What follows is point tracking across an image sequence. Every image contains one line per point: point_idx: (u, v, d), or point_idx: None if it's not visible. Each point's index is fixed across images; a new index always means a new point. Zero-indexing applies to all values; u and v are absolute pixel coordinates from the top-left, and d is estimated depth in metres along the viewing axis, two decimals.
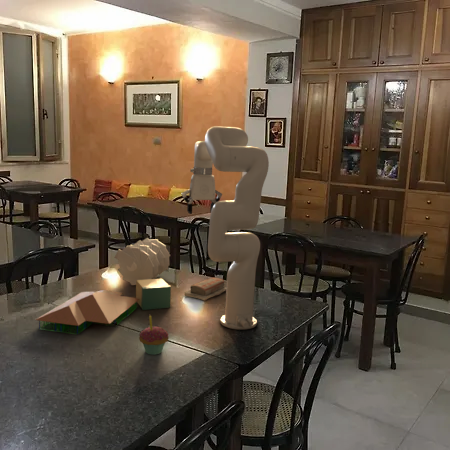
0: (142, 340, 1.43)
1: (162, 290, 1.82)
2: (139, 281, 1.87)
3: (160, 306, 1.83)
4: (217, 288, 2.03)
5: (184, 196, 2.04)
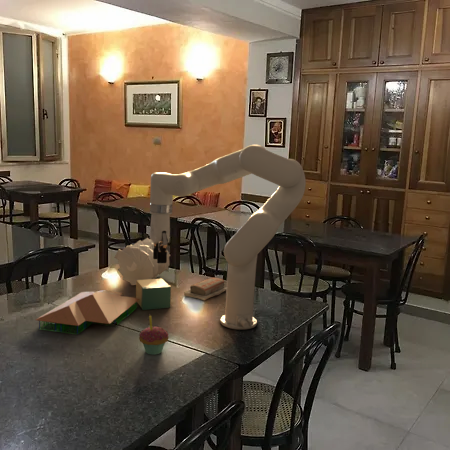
0: (142, 340, 1.43)
1: (162, 290, 1.82)
2: (139, 281, 1.87)
3: (160, 306, 1.83)
4: (217, 288, 2.03)
5: None
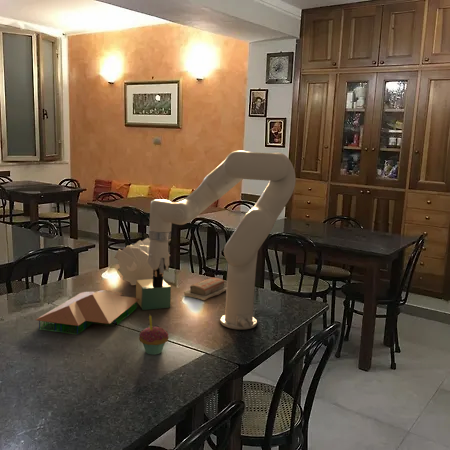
0: (142, 340, 1.43)
1: (162, 290, 1.82)
2: (139, 281, 1.87)
3: (160, 306, 1.83)
4: (217, 288, 2.03)
5: None
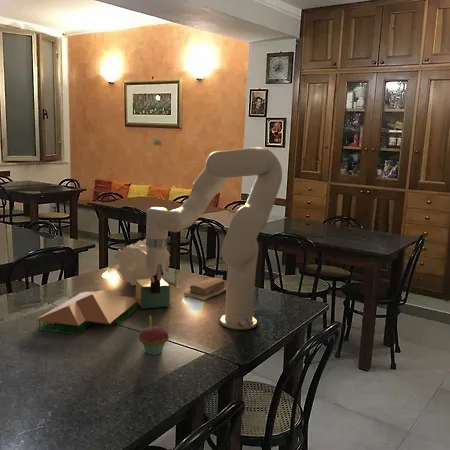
0: (142, 340, 1.43)
1: (161, 288, 1.82)
2: (139, 280, 1.88)
3: (159, 305, 1.83)
4: (217, 288, 2.03)
5: None
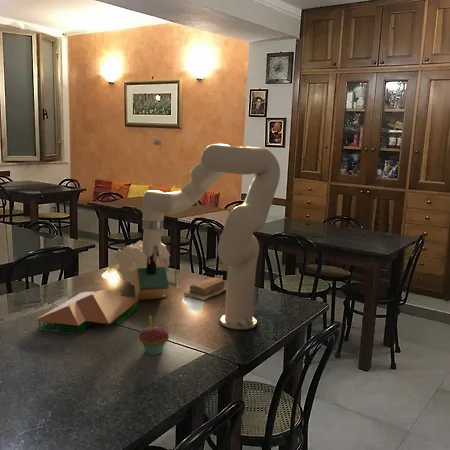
0: (142, 340, 1.43)
1: (157, 270, 1.87)
2: None
3: (158, 285, 1.84)
4: (217, 288, 2.03)
5: None
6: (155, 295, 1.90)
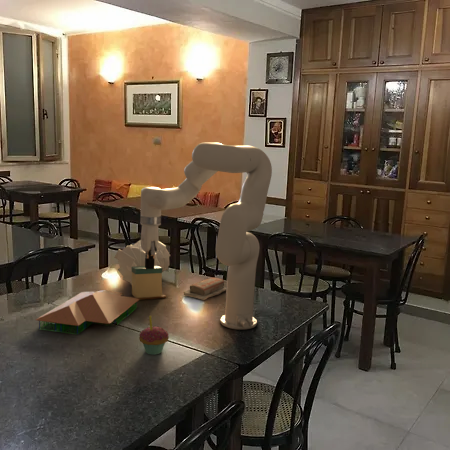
0: (142, 340, 1.43)
1: None
2: None
3: None
4: (216, 288, 2.03)
5: None
6: (153, 287, 1.92)
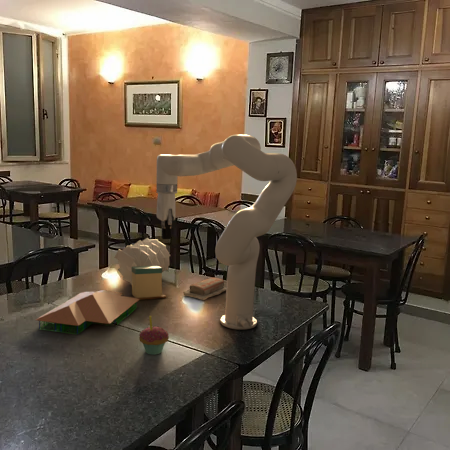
0: (142, 340, 1.43)
1: (149, 266, 1.98)
2: None
3: (152, 268, 1.92)
4: (216, 288, 2.03)
5: None
6: (153, 287, 1.92)
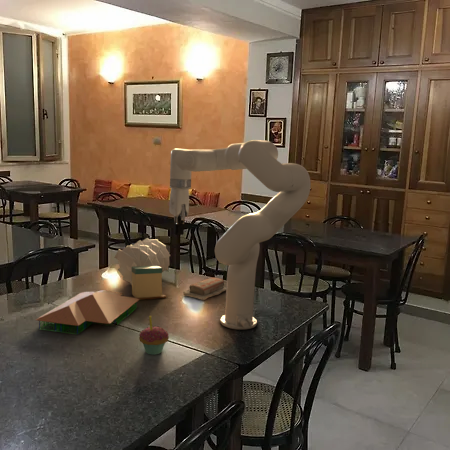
0: (142, 340, 1.43)
1: (149, 266, 1.98)
2: None
3: (152, 268, 1.92)
4: (216, 288, 2.03)
5: None
6: (153, 287, 1.92)
